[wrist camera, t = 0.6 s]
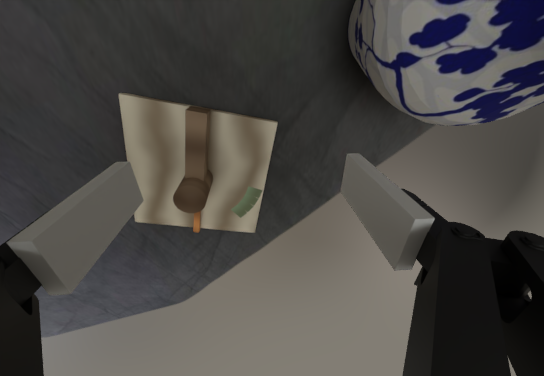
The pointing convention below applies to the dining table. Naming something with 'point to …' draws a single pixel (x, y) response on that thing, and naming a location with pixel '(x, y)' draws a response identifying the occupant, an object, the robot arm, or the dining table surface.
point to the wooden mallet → (195, 165)
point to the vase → (452, 56)
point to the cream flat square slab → (221, 163)
